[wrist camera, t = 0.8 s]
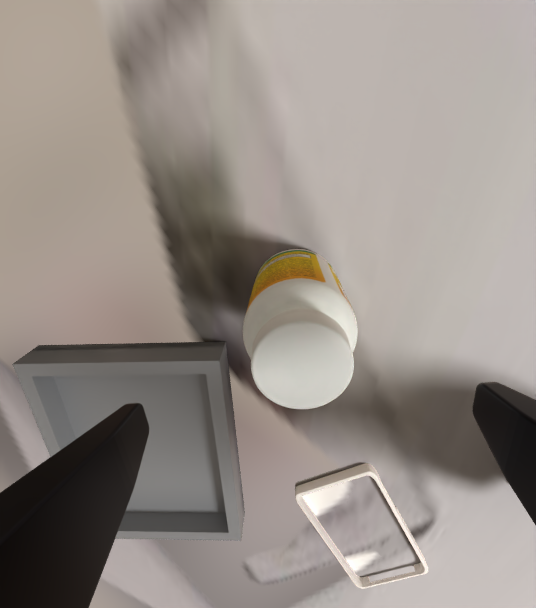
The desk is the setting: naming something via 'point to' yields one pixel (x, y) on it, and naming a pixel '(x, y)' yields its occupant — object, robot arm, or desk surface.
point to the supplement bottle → (300, 331)
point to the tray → (150, 427)
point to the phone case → (328, 492)
